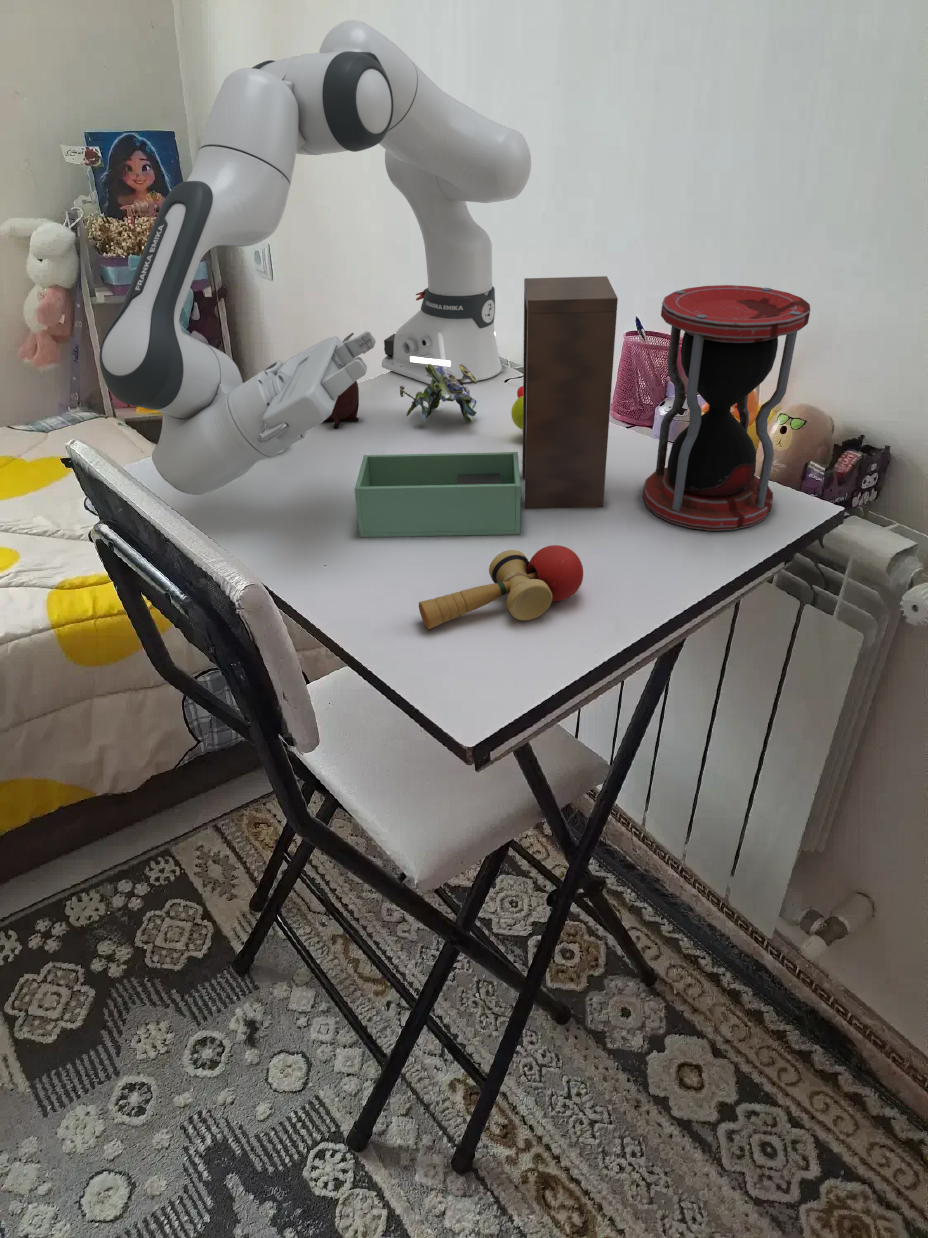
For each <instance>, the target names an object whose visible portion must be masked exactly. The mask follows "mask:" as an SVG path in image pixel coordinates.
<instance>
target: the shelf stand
mask: <svg viewBox="0 0 928 1238" xmlns="http://www.w3.org/2000/svg"><path fill="white" fill-rule="evenodd" d="M523 281H524V282H523V356H522V359H523V361H522V362H523V364H522V367H523V368H522V369H523V370H522V373H523V374H522V386H523V430H522V448H521V449H522V450H521V451H522V452H521V453H522V456H521V457H522V459H521V460H522V463H521V465H522V466H521V467H522V468H521V476H522V479H524V509H559V508H562V509H563V508H565V509H566V508H603V507H604V501H605V499H604V498H605V485H606V484H605V483H606V472H607V471H606V469H607V457H608V443H609V442H608V441H609V429H610V428H609V427H610V415H611V414H610V412H611V400H612V388H613V387H612V386H613V371H614V357H615V355H614V354H615V343H616V331H617V329H616V328H617V314H618V301H619V298H618V295H617V294H616V292H615V290H614V288H613V286H612V284H611V281H610V280H609V278H608V276H607V275H603V276H602V275H601V276H599V275H598V276H568V277H567V276H565V277H564V276H563V277H561V276H560V277H531V278H530V277H526V278H523Z"/></svg>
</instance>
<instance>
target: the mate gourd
mask: <svg viewBox="0 0 928 1238" xmlns="http://www.w3.org/2000/svg"><path fill="white" fill-rule="evenodd" d="M354 334H355V333H354V332H351V333H350V334H349V335H347V336H346V337H345V338H344V339H343V340H342V343H343V342H345V341H347V340H350V339H352V337H353V336H354ZM359 393H360V389H359V384H358V380H356V381H355V382H354V383H353V384H352V385H351V386H349V387H348V388H347V389H346V390H345V391H344V392H343V393H342V394H341V395H339V396H338V398H337V400H336V403H335V406H334V409H333V411H332V414H331V415H330V416H329V417H328V418H327V419H326V420H325V421H323V422H322V423H326V424H327V423H333V430H338V429H340V427H341V425H342V423H359V420H360V418H359V417H358V412H359V407H360V394H359ZM322 423H321V424H322Z"/></svg>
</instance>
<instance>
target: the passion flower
mask: <svg viewBox="0 0 928 1238" xmlns="http://www.w3.org/2000/svg"><path fill="white" fill-rule="evenodd" d="M427 366H428V367H427ZM425 369H426V371H427V373H428V374H429V375H430V376H431V378H432V380H431V385H430V384H427V386H426V387H425V388H424V390H423V392H422V391H418V392H417V393H416V394H415V397H413V395H411V394H409V393H408V392H406V391H405V389H406V388H405V387H406V386H404V385H399V395H400V397H401V398H404V394H405V395H406V396H407V397H409V398H411V399H412V400H413V401H411V406H410V407H409V408H408V410H407V412H406V417H409V416H410V415H411V413H412V412H413V411H414V409H416V408H417V407H418V406H420V407H421V412H420V413H421V418H420V423H419V426H418V428H421V427H422V425H423V424H424V422H425V420H427V419H428V418H429V417H430V416H431V415H432V412H433V411H434V410H436V409H438V408H439V406H440V402H441V401H442V402H444V403H445V402H454V401H455V402H456V403H457V404H458V405H459V407H460V413H461V415H462V418H463V419H464V421H466V422H469V423H473V417H475V416H476V414H477V413H478V412H477V411H476V410H475V409H474V408H475V407H476V406H477V402H478V401H477V400H476V399H474V398H473V397H472V395H471V392H470V391H471V390H469V388H468V387H467V386H464V382H463V381H464V380H465V379H469V380H470V381H472V383H473V384H475V385H476V384H477V383H478V381H476V378H475V377H474V376H473V375H472V374H471V372H470V371H469V370H468V369H467V368H466V367H465V366H464V365H462V364H460V369H461V372H462V374H463V377H462V378H461V379H456V378H455V377H454V375H453V374H452V373H451V371H450V372H449V371H447V370H446V369H444V368H443V367H442V368H441V367H440V366H439V365H438V368H436V369H435V368H434V366H433V365H432V364H426V365H425ZM424 403H426V404H427V406H425V405H424Z"/></svg>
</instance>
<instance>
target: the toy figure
mask: <svg viewBox="0 0 928 1238" xmlns="http://www.w3.org/2000/svg"><path fill="white" fill-rule="evenodd" d="M516 396H517V399H516V400H515V401H514V403H513V404H512V407H511V411H510V414H511V420H512V422H513V424H514V425H515V426H516V428H518V429H520V430H521V431H523V385H521V386H519V388H518V389H517V391H516Z"/></svg>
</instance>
